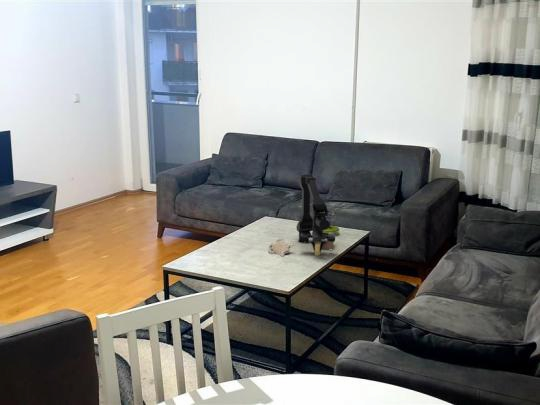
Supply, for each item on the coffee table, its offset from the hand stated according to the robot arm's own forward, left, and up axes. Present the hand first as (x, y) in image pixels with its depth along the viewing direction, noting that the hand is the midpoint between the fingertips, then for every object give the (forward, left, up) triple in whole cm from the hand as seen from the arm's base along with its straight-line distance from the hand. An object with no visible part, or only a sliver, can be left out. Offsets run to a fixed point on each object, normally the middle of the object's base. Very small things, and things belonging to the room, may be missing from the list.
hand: (317, 252), depth 333 cm
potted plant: (+4, +38, -1) cm, 38 cm away
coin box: (+3, +13, -1) cm, 13 cm away
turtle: (-20, -1, -1) cm, 21 cm away
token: (0, 0, -1) cm, 1 cm away
